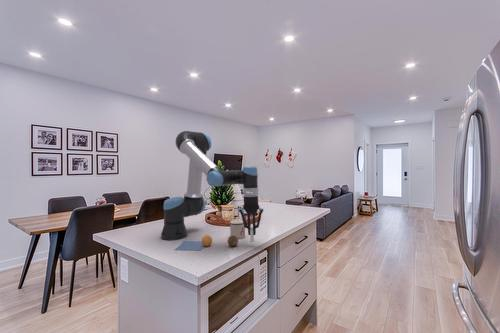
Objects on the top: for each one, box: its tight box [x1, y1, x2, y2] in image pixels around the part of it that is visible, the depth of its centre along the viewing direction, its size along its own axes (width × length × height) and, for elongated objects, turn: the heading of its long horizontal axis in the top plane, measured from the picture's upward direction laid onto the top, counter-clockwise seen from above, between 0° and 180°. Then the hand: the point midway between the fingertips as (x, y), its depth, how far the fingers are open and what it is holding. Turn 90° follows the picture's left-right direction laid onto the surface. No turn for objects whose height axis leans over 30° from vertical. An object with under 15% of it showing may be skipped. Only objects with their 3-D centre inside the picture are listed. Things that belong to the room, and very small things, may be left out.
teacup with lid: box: [229, 216, 246, 240], centre depth 142 cm, size 12×9×12 cm
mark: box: [174, 240, 206, 251], centre depth 126 cm, size 14×14×1 cm
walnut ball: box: [227, 236, 239, 247], centre depth 124 cm, size 6×6×6 cm
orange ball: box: [201, 234, 213, 247], centre depth 125 cm, size 6×6×6 cm
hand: (252, 241), depth 123 cm, fingers closed
